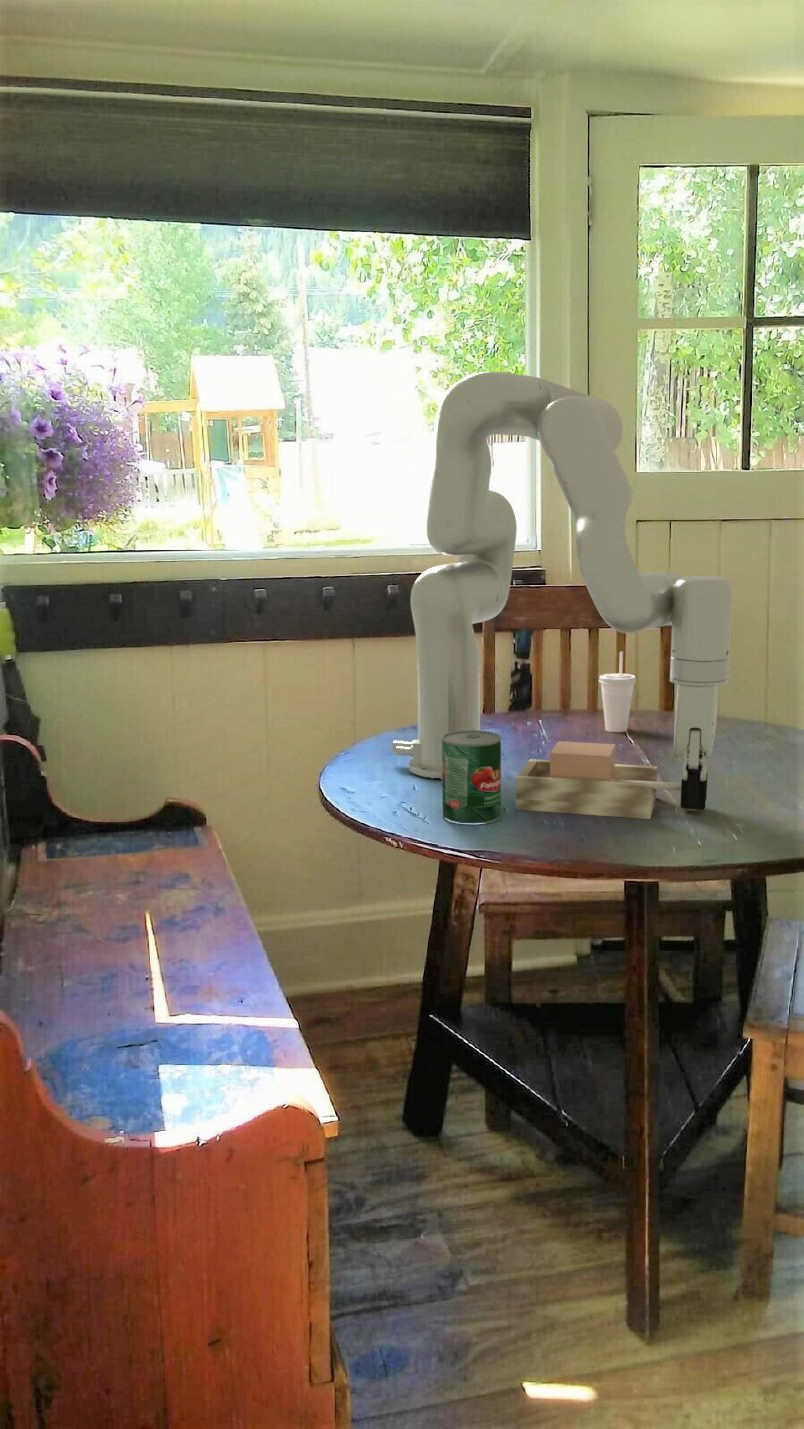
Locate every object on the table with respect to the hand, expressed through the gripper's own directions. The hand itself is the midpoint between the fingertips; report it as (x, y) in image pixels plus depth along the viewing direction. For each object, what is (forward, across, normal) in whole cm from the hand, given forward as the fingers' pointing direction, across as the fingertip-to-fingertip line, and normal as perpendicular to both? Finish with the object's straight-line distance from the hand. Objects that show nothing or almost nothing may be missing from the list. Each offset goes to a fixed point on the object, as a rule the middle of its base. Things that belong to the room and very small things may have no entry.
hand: (693, 803), depth 155 cm
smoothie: (+1, -47, -15) cm, 49 cm away
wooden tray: (+1, 0, -15) cm, 15 cm away
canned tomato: (+1, +10, -28) cm, 30 cm away
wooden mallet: (+1, 0, -9) cm, 9 cm away
